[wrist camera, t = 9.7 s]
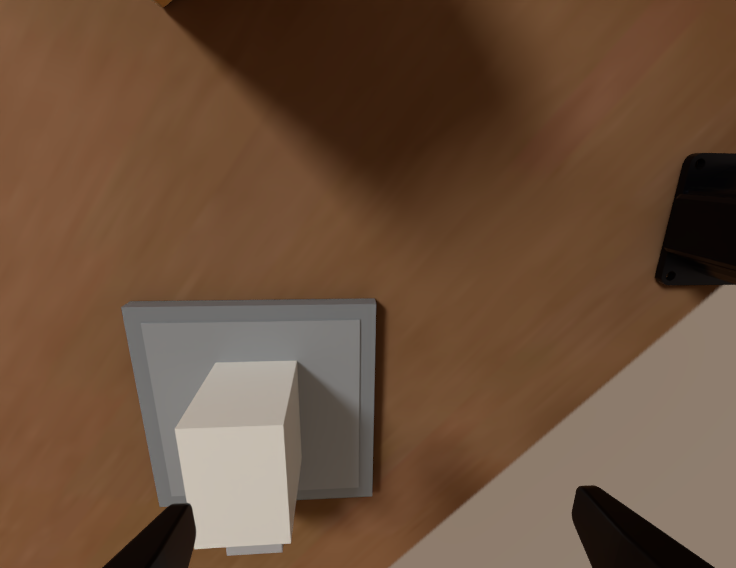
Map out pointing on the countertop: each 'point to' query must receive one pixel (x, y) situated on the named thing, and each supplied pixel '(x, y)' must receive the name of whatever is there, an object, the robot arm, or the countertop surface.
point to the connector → (243, 456)
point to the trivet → (253, 344)
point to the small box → (162, 2)
